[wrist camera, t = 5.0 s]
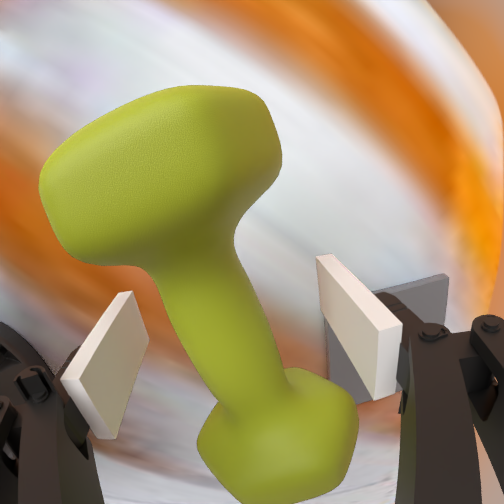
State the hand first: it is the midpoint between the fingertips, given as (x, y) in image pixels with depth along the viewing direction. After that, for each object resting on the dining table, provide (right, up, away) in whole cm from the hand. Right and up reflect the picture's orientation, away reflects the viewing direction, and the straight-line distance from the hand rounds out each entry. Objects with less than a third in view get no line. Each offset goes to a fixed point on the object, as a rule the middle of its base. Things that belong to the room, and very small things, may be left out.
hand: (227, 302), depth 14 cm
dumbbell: (0, 0, +1) cm, 1 cm away
